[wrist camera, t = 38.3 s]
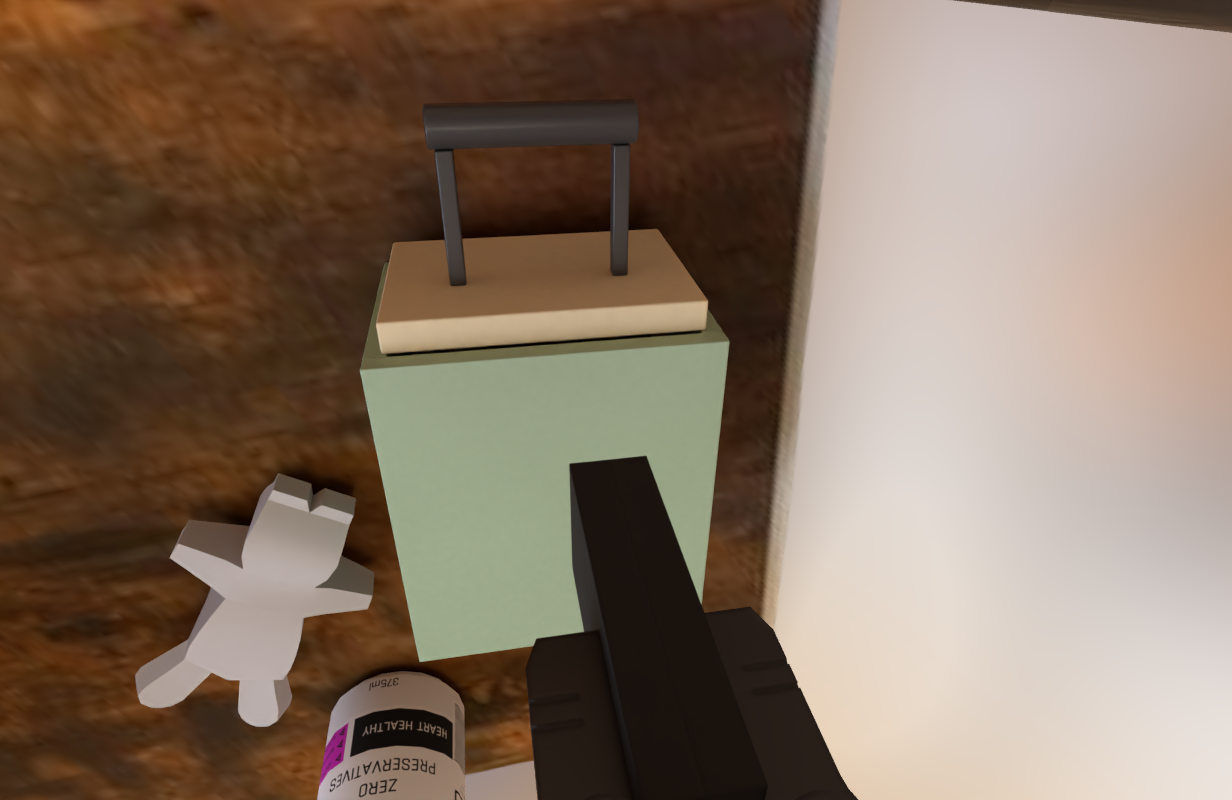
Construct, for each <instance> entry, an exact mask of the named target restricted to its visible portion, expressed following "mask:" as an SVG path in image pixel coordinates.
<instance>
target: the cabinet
mask: <svg viewBox="0 0 1232 800" xmlns="http://www.w3.org/2000/svg"><path fill="white" fill-rule="evenodd" d="M388 265H389V262H386V263H385V264H384V268H383V272H382V276H381V280H380V285H379V289H378V293H377V298H376V302H375V307H374V311H373V315H372V320H371V324H370V329H369V333H368V337H367V342H366V346H365V351H364V355H363V360H362V364H361V368H360V373H361V378H362V383H363V388H364V393H365V398H366V403H367V408H368V413H369V417H370V422H371V427H372V432H373V437H374V442H375V447H376V452H377V457H378V461H379V466H380V471H381V476H382V481H383V486H384V491H385V496H386V501H387V505H388V510H389V515H390V520H391V525H392V530H393V535H394V540H395V545H396V549H397V554H398V559H399V564H400V569H401V574H402V579H403V584H404V589H405V593H406V598H407V603H408V608H409V613H410V618H411V623H412V628H413V633H414V637H415V642H416V647H417V652H418V657H419V661H420V662H424V661H431V660H438V659H445V658H452V657H459V656H466V655H473V654H480V653H487V652H494V651H501V650H508V649H515V648H522V647H529V646H534V643H535V641H536V638H544V637H551V636H558V635H565V634H572V633H579V632H584V629H583V623H582V618H581V612H580V607H579V601H578V596H577V591H576V585H575V580H574V574H573V569H572V541H571V506H570V472H569V464H570V463H580V462H590V461H599V460H609V459H619V458H629V457H638V456H647V459H648V461H649V464H650V467H651V470H652V472H653V475H654V478H655V480H656V483H657V486H658V488H659V491H660V494H661V497H662V499H663V502H664V505H665V507H666V510H667V513H668V516H669V518H670V521H671V524H672V526H673V529H674V532H675V535H676V537H677V540H678V543H679V545H680V548H681V551H682V554H683V556H684V559H685V562H686V564H687V567H688V570H689V572H690V575H691V578H692V581H693V583H694V586H695V589H696V591H697V594H698V597H699V600H700V602H701V604H702V595H703V585H704V576H705V567H706V557H707V548H708V539H709V529H710V520H711V511H712V501H713V492H714V482H715V473H716V464H717V454H718V445H719V436H720V426H721V417H722V408H723V398H724V389H725V380H726V370H727V361H728V352H729V340H728V338H727V337H726V335H725V334H724V332H723V331H722V329H721V328H720V326H719V325H718V324H717V322H716V321H715V319H714V318H713V316H712V315H711V313H710V312H709V310H707V322H706V329H705V330H698V331H685V332H672V333H668V334H669V335H670V336H658V337H645V338H632V339H619V340H605V341H592V342H579V343H566V344H553V345H539V346H526V347H513V348H500V349H486V350H473V351H460V352H447V353H434V354H420V355H412V352H405V353H392V354H382V353H381V350H380V345H379V339H378V334H377V329H376V321H377V317H378V312H379V307H380V303H381V298H382V293H383V289H384V284H385V279H386V274H387V270H388Z"/></svg>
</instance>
